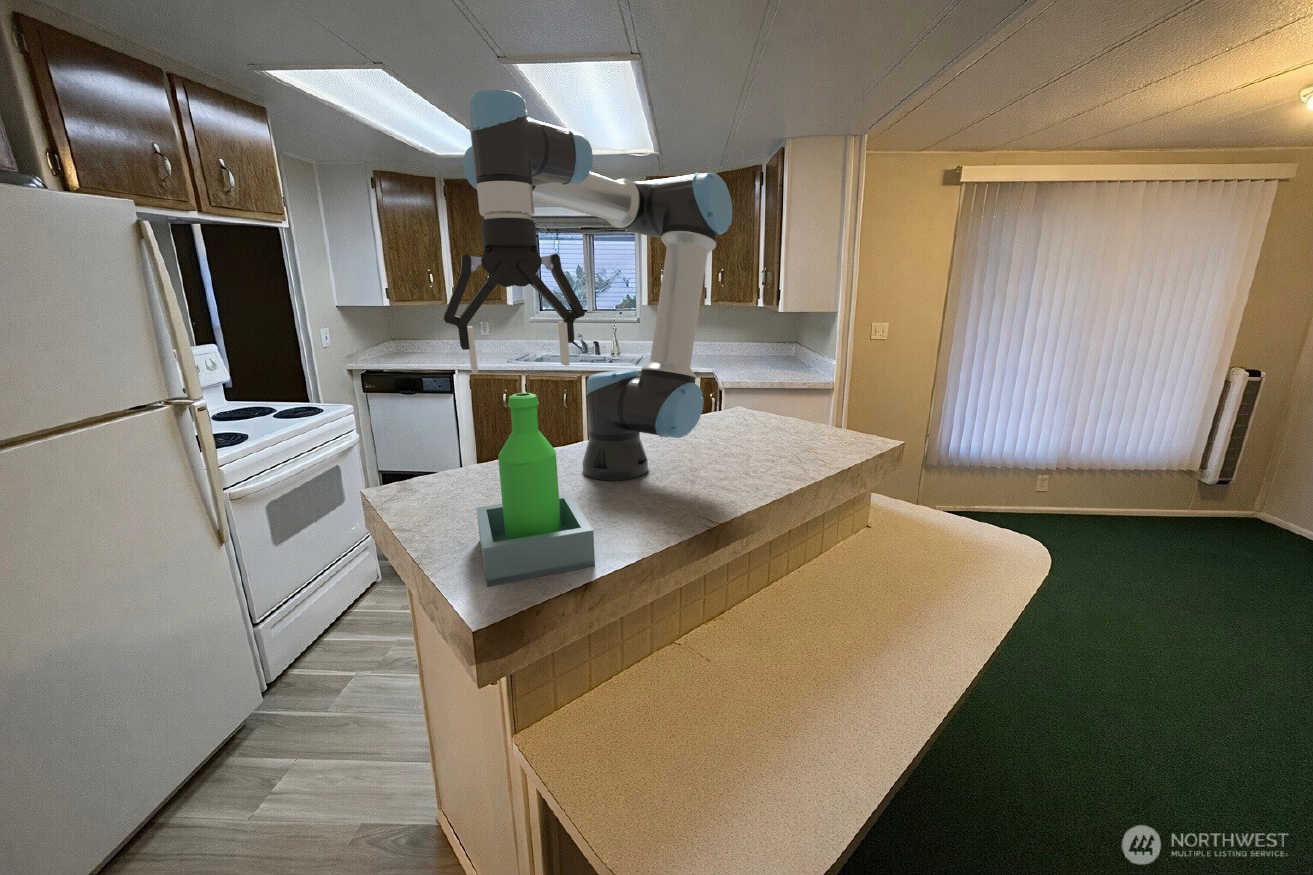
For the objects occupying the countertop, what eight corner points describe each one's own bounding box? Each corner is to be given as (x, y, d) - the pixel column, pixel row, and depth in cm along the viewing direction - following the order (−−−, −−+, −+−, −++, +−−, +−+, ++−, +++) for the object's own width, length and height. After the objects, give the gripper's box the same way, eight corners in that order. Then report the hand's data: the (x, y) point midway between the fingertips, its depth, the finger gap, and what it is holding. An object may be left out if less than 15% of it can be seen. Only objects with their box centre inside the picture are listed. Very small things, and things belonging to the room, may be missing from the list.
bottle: (511, 564, 83) (496, 402, 76) (502, 540, 91) (488, 392, 84) (568, 552, 87) (558, 397, 80) (555, 530, 94) (545, 387, 88)
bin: (572, 524, 99) (570, 493, 97) (594, 565, 84) (593, 530, 83) (479, 540, 93) (476, 507, 92) (487, 586, 79) (483, 548, 77)
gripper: (586, 222, 85) (593, 358, 91) (412, 219, 76) (433, 371, 82) (600, 217, 78) (607, 364, 84) (411, 213, 70) (433, 378, 76)
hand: (521, 368), depth 83 cm, fingers open, 13 cm apart
